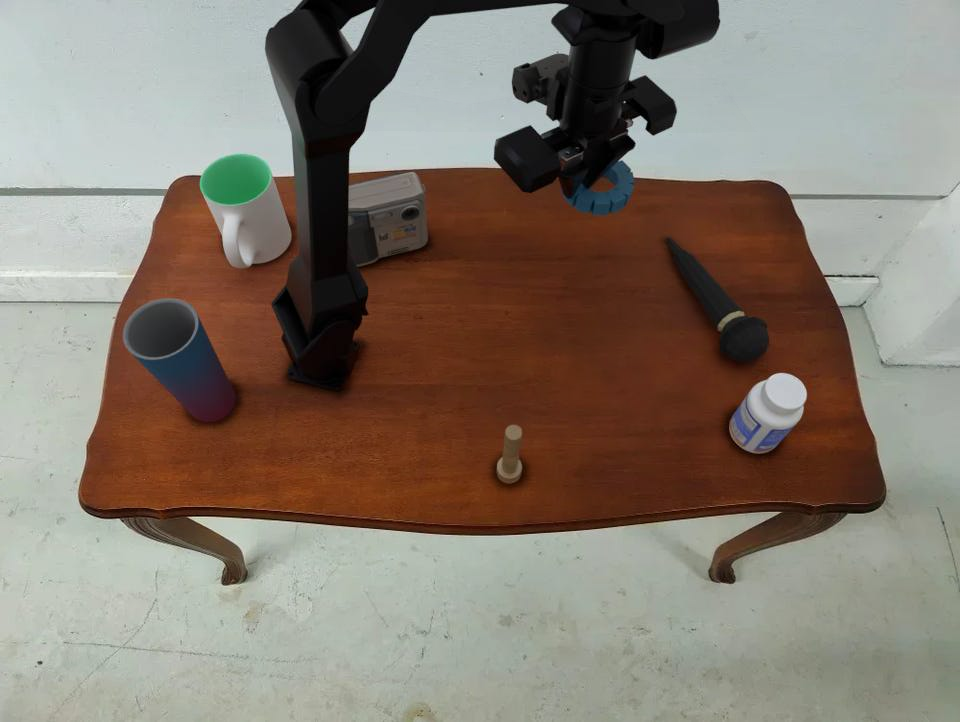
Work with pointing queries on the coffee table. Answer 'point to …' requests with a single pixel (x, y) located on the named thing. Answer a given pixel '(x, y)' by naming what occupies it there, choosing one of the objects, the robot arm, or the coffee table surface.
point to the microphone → (723, 311)
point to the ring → (606, 193)
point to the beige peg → (510, 456)
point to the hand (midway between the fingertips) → (575, 192)
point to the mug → (246, 209)
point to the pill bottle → (768, 413)
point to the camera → (386, 217)
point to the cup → (180, 357)
